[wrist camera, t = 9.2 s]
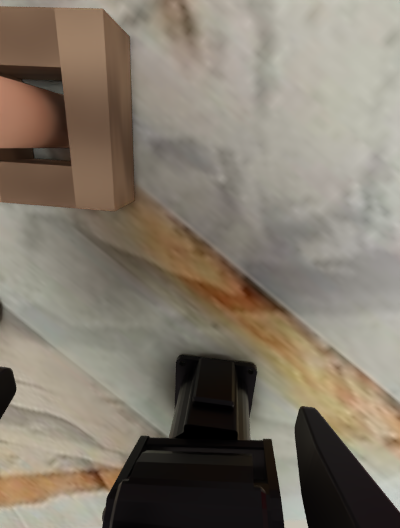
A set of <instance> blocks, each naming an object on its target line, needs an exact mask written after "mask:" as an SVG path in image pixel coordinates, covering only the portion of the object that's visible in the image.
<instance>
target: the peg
mask: <svg viewBox="0 0 400 528" xmlns="http://www.w3.org/2000/svg"><path fill="white" fill-rule="evenodd" d="M0 148H69V138H68V129H67V120H66V110H65V101H64V95H62V94H59V93H55V92H52V91H49V90H45V89H42V88H39V87H35V86H32V85H28V84H25V83H22V82H18V81H15V80H12V79H8V78H5V77H2V76H0Z"/></svg>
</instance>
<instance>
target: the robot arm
mask: <svg viewBox="0 0 400 528" xmlns="http://www.w3.org/2000/svg"><path fill="white" fill-rule="evenodd" d="M181 361H184V363H183V362H181ZM249 369H252V371H249ZM256 375H257V368H256V366H255V365H254V364H251V363H243V362H235V361H227V360H219V359H210V358H202V357H194V356H185V355H181V356H179V357H178V358H177V362H176V388H175V412H174V417H173V421H172V426H171V430H170V434H169V438H152V437H149V436H140V438H139V440H138V442H137V444H136V445H135V447H134V449H133V451H132V452H131V454H130V456H129V458H128V460H127V461H126V463H125V465H124V467H123V469H122V471H121V472H120V474H119V476H118V478H117V480H116V481H115V483H114V485H113V487H112V489H111V491H110V492H109V494H108V496H107V500H106V507H105V509H104V511H103V515H102V521H103V527H102V528H284V520H283V511H282V503H281V496H280V489H279V483H278V477H277V471H276V464H275V458H274V452H273V446H272V440H271V439H263V440H250V423H249V417H250V411H251V405H252V399H253V393H254V387H255V381H256ZM15 393H16V383H15V379H14V375H13V371H12V369H11V368H7V367H0V419H1V417H2V415H3V414H4V412H5V410H6V409H7V407H8V405H9V404H10V402H11V400H12V399H13V397H14V395H15ZM295 441H296V450H297V459H298V468H299V477H300V486H301V494H302V499H303V504H304V509H305V514H306V519H307V524H308V528H400V512H399V511H398V509H397V508H396V507H395V506H394V505H393V503H392V502H391V501H390V500H389V498H388V497H387V496H386V495H385V493H384V492H383V491H382V490H381V488H380V487H379V486H378V485H377V484H376V482H375V481H374V480H373V479H372V477H371V476H370V475H369V474H368V472H367V471H366V470H365V469H364V467H363V466H362V465H361V464H360V463H359V461H358V460H357V459H356V458H355V456H354V455H353V454H352V453H351V451H350V450H349V449H348V448H347V446H346V445H345V444H344V443H343V442H342V440H341V439H340V438H339V437H338V435H337V434H336V433H335V432H334V430H333V429H332V428H331V427H330V425H329V424H328V423H327V422H326V421H325V419H324V418H323V417H322V416H321V414H320V413H319V412H318V411H317V410H316V409H315V408H313V407H305V406H302V407H300V409H299V412H298V416H297V420H296V424H295Z"/></svg>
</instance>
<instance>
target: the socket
mask: <svg viewBox="0 0 400 528" xmlns="http://www.w3.org/2000/svg"><path fill="white" fill-rule="evenodd" d="M0 76H2V77H5V78H8V79H12V80H15V81H18V82H22V79H32V80H55V81H62V83H63V92H64V101H65V110H66V120H67V129H68V138H69V147H70V156H71V161H63V160H48V159H34V155H33V148H0V202H5V203H18V204H30V205H43V206H55V207H67V208H80V209H92V210H104V211H116V210H118V209H120V208H122V207H124V206H125V205H127V204H129V203H131V202H133V201H135V196H134V164H133V132H132V101H131V69H130V37H129V35H128V34H127V33H126V32H125V31H124V30H123V29H122V28H121V27H120V26H119V25H118V24H117V23H116V22H115V21H114V20H113V19H112V18H111V17H110V16H109V15H108V14H107V13H106V12H105V10H104V9H93V8H46V7H0Z"/></svg>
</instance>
